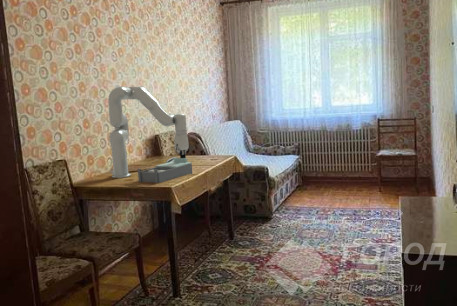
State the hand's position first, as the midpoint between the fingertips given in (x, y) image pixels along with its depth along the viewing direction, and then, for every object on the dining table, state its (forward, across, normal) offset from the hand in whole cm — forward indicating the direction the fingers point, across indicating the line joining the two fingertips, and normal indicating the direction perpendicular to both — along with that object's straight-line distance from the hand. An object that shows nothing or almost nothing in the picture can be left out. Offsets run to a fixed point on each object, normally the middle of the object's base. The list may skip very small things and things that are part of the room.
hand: (183, 160), depth 288 cm
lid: (+1, +10, 0) cm, 10 cm away
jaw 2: (+8, +27, +3) cm, 28 cm away
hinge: (+9, -9, -16) cm, 21 cm away
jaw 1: (+8, +27, -4) cm, 28 cm away
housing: (+9, +19, 0) cm, 21 cm away
